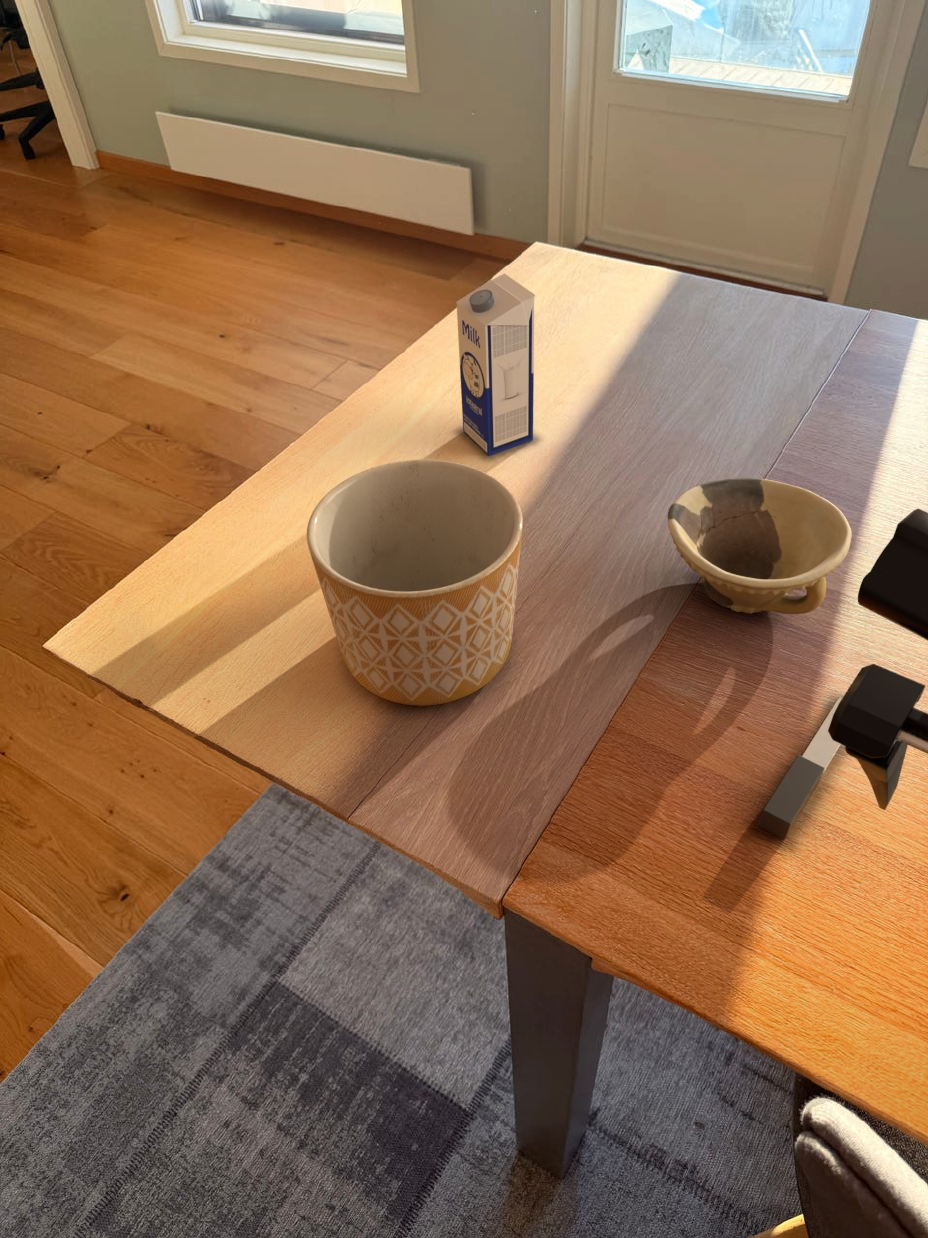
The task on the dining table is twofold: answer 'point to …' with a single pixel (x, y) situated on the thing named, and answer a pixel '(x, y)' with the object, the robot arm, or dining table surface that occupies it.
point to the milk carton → (497, 364)
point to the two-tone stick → (800, 782)
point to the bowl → (759, 543)
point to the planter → (419, 577)
